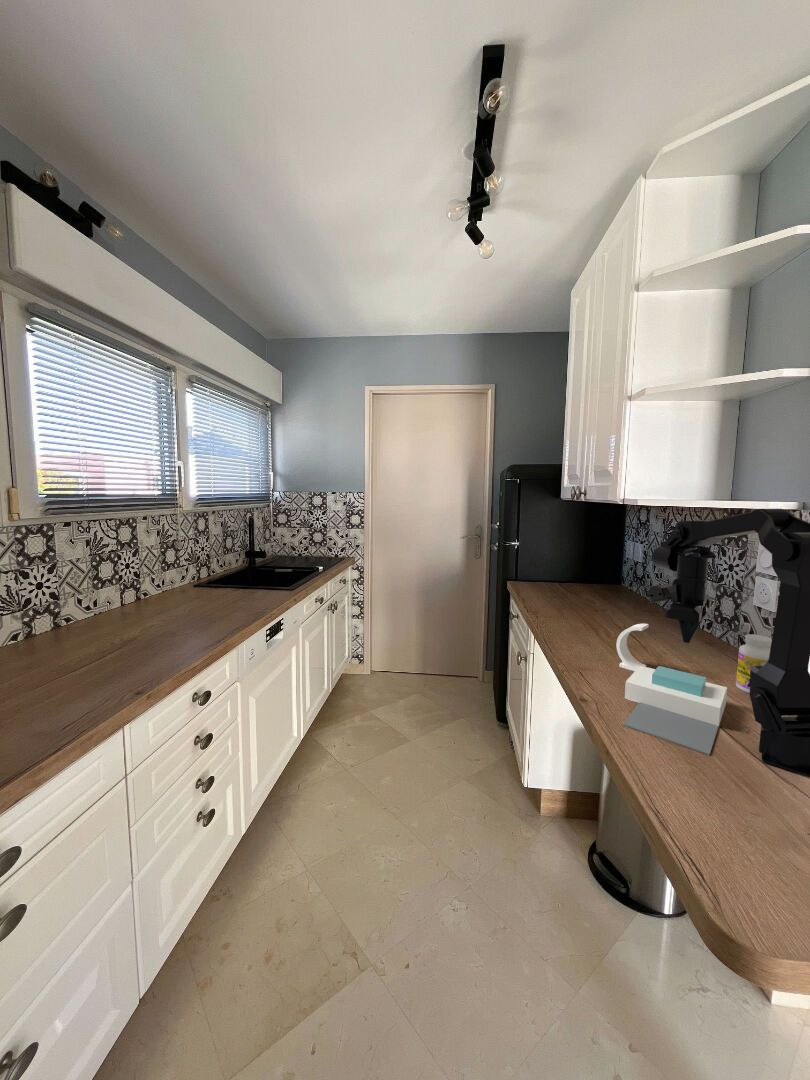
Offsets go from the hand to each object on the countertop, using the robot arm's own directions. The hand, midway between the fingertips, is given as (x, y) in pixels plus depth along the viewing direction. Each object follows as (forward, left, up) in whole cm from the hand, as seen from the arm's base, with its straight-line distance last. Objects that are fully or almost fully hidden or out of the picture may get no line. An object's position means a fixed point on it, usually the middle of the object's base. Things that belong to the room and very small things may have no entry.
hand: (686, 642), depth 94 cm
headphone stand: (+13, -7, -12) cm, 19 cm away
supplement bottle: (-12, -12, -12) cm, 21 cm away
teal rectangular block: (0, +7, -8) cm, 11 cm away
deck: (+1, +7, -12) cm, 14 cm away
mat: (-1, +19, -12) cm, 22 cm away
